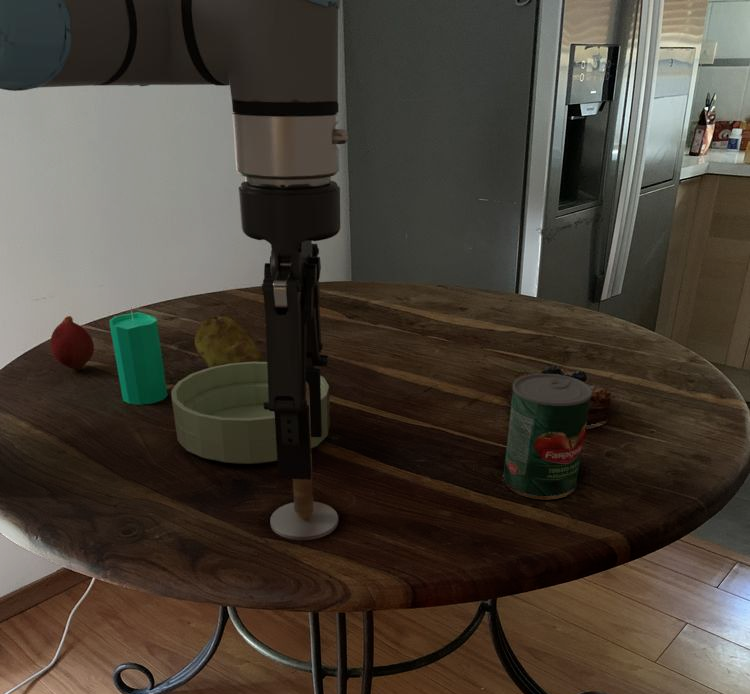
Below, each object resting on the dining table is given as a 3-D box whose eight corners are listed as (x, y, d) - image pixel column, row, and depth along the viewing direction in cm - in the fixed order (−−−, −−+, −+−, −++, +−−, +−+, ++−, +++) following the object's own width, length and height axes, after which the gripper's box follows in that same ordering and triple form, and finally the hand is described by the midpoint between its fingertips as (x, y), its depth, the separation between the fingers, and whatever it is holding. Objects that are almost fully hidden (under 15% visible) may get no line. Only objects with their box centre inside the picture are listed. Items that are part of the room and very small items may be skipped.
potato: (210, 396, 100) (204, 339, 96) (194, 365, 110) (188, 312, 106) (270, 388, 102) (266, 332, 98) (249, 359, 113) (244, 307, 109)
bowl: (158, 466, 82) (150, 417, 79) (199, 403, 98) (194, 359, 95) (320, 471, 81) (319, 422, 78) (335, 406, 97) (335, 363, 94)
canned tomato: (558, 508, 75) (574, 409, 69) (489, 486, 79) (499, 390, 73) (587, 478, 81) (604, 384, 75) (521, 459, 84) (532, 368, 79)
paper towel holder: (266, 553, 68) (253, 391, 60) (277, 516, 73) (267, 364, 65) (335, 555, 67) (332, 393, 59) (341, 519, 73) (339, 366, 65)
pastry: (543, 437, 89) (549, 392, 86) (496, 401, 99) (501, 359, 96) (619, 426, 93) (627, 382, 90) (567, 391, 102) (573, 351, 99)
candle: (128, 387, 102) (113, 301, 96) (172, 387, 102) (160, 301, 96) (117, 404, 97) (100, 314, 91) (163, 404, 97) (149, 314, 91)
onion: (65, 380, 104) (53, 325, 100) (49, 369, 108) (37, 315, 104) (104, 370, 108) (94, 316, 104) (87, 360, 111) (77, 308, 107)
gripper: (325, 201, 45) (332, 516, 57) (350, 164, 63) (351, 410, 75) (205, 199, 46) (236, 512, 57) (263, 163, 63) (278, 408, 75)
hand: (301, 454), depth 66 cm, fingers open, 8 cm apart
